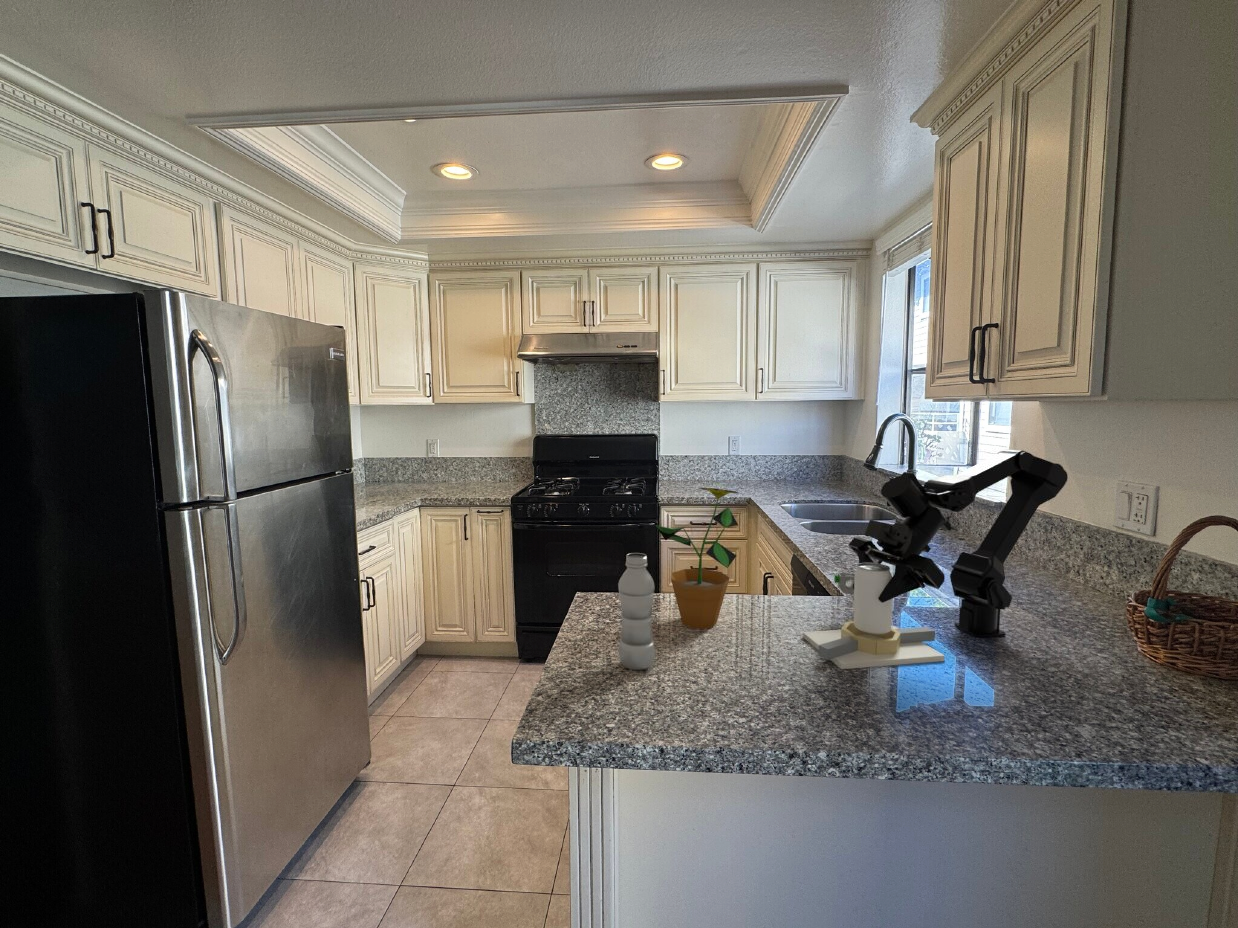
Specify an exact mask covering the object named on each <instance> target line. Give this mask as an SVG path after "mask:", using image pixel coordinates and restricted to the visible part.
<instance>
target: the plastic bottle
mask: <svg viewBox="0 0 1238 928" xmlns="http://www.w3.org/2000/svg"><path fill="white" fill-rule="evenodd" d="M625 560H626V561H625V567H626V569H625V571H624V572H623V574H622V575H621V577H620V579H619V580H618V583H617V586H618V594H619V601H620V610H621V627H620V628H621V629H620V630H621V631H620V639H619V645H618V658H619V661H620V663H621V664H622V666H623V667H624V668H627V669H629V670H633V671H640V670H641V671H644V670H646V669H648V668H650V667H651V666H652V664H654V661H655V656H656V648H655V641H654V639H653V636H654V635H653V626H652V625H653V624H652V621H653V620H652V619H653V616H652V615H653V603H654V595H655V586H656V585H655V582H654V579H653V577H652V576H651V574H650V572H649V571H648V570H647V567H648V557H647V554H645V553H642V552H641V553H640V552H630V553H628V554H626V559H625Z"/></svg>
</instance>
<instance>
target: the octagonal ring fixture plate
mask: <svg viewBox="0 0 1238 928" xmlns="http://www.w3.org/2000/svg"><path fill="white" fill-rule="evenodd" d="M802 638H804V639H805V640H806V641H807V642H808V643H809V644H811V646H813V647H814V648H815V649H816V650H817V651H818V657H820V658H823V659H824V660H826V661H831V662H832V663H833V664H834V665H835V666H837V667H838V668H839V669H840V670H849V669H860V668H861V669H862V668H872V667H886V666H887V667H888V666H898V665H911V664H912V665H913V664H922V663H923V664H924V663H934V662H935V663H937V662H945V655H944V654H943V653H941V652H939V651H938V650H936V649H934V648H933V647H931V646H929V645H927V644H925V643H924V642H935V640H936V630H934V629H932V628H931V627H929V626H921V627H920V626H919V627H917V626H916V627H905V628H900V627H897V626H895V625H892V627H891V631H890V632H889V633H887V634H883V635H874V634H868V633H864V632H861V631H859V630H858V629H857V628H856V627H855V626H854V620H852V621H851V620H850V621H845V623H844V624H843V625H842V626H841V629H830V630H828V629H827V630H818V631H817V630H814V631H803V632H802Z"/></svg>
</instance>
